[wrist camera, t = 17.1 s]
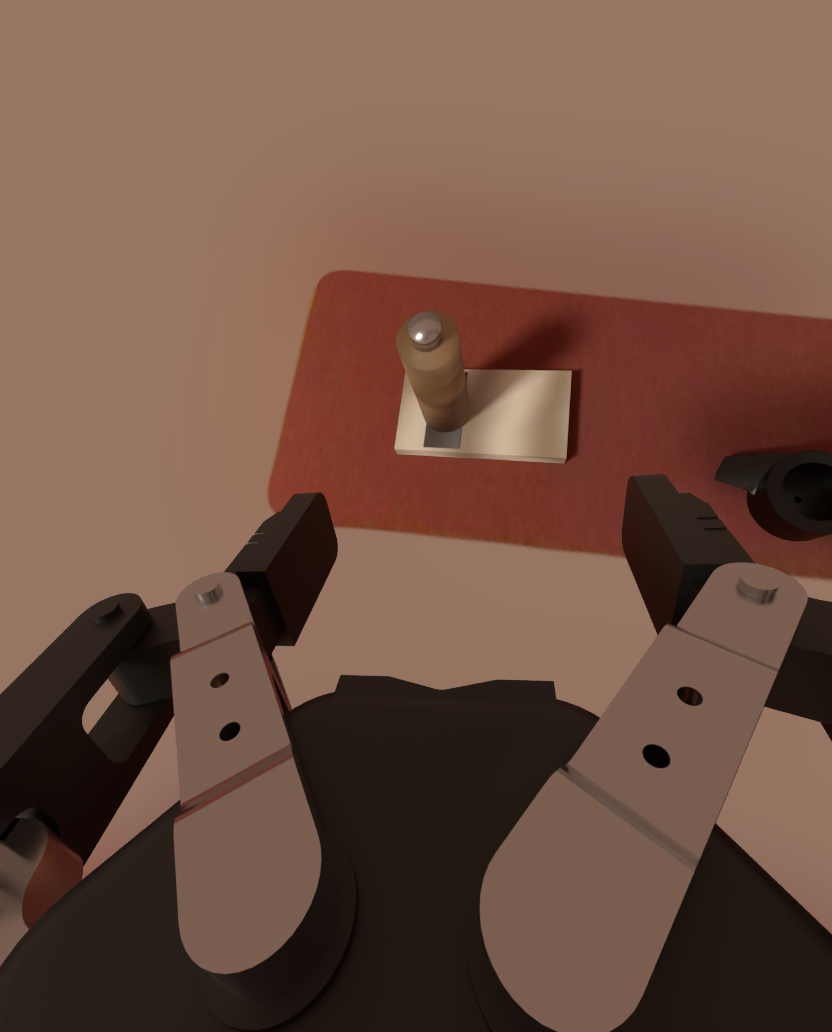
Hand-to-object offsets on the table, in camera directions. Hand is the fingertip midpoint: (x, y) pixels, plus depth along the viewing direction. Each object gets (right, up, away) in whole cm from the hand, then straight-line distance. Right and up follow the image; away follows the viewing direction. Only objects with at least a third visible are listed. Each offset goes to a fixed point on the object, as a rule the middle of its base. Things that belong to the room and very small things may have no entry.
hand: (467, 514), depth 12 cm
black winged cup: (+26, +1, +21) cm, 33 cm away
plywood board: (+4, +8, +27) cm, 28 cm away
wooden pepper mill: (+1, +9, +26) cm, 27 cm away
